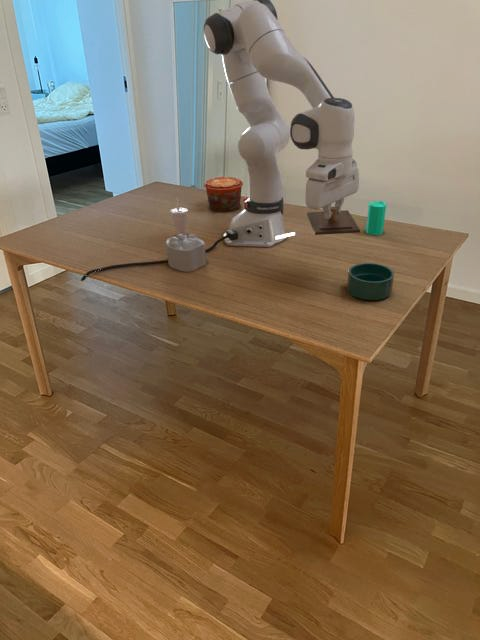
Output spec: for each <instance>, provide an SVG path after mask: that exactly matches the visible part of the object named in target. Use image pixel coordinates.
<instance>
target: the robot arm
mask: <svg viewBox="0 0 480 640" xmlns="http://www.w3.org/2000/svg"><path fill="white" fill-rule="evenodd" d="M203 36H204V41H205V43H206V45H207V47H208V48H207V49H209V51H210V52H211V53H212V54H213V55H215V56H221V57H222V58H221V59H222V64H223V68H224V73H225V77H226V81H227V84H228V86H229V89H230V92H231V95H232V98H233V102H234V104H235V107H236V109H237V111H238V112H239V113H240V114H242V116H243V117H244V118H245V119H246V122H247V123H248V125H249V126H250V127H248V128H247V129H246V130H245V131H244V132H243V133H242V134H241V135H240V137H239V138H238V142H237V149H238V153H239V155H240V157H241V158H242V159H243V160H244V162H245V165H246V169H247V172H248V179H249V197H248V196H244V197H243V198H242V202H243V204H244V209H243V210H241V211H240V212H239V213H238V214H236V215H235V216H233V217H232V219H231V221H230V224H229V228H228V229H227V230H226V231H225V232H224V233H223V236H222V237H220V238H219V239H217V240H216V241H215V242H214V243H213V245H211V246H210V247H209V248H205V254H207V253H208V252H210V251H212V250H213V249H215V248H216V247H217V246H218V245H219V243H221V242H224V243H225V244H226V245H227V246H229V247H230V246H231V247H256V248H257V247H259V248H262V247H263V248H270V247H273V246H274V245H276V244H278V243H282V242H283V241H284V240H286V238H287V237H288V238H289V237H292V236H296V232H295V231H293V232H289V233H287V232H286V229H285V223H284V216H283V215H284V211H285V210H284V209H285V206H284V205H285V203H284V202H285V201H284V197H283V174H282V172H281V171H280V169H279V165H278V161H277V156H278V154H279V153H280V152H282V151H283V150H284V149H286V147H287V146H288V144H289V143H290V141H291V142H292V144H293V145H294V146H295V147H296V148H298V149H299V150H306V151H307V150H313V149H316V150H317V151H318V154H317V159H315V161H314V162H313V163H312V165H310V166H309V167H308V168H307V169H306V171H305V177H306V178H307V181H306V184H305V205H306V207H307V208H308V209H310V210H316V211H317V210H320V209H322V210H323V212H324V217H325V218H326V219H330V218H332V217H333V212H332V211H331V210H330V207H332V204H333V203H334V205H333V207H336V208H337V215H338V214H340V213H341V211H342V207H343V204H344V202H345V198H347V197H349V196H352V195H354V194H356V193H358V191H359V187H360V174H359V173H360V172H359V168H358V163H357V161H356V160H355V159H354V158H353V155H354V151H353V141H354V138H355V110H354V106H353V103H351V101H350V100H347V99H346V98H341V97H334V95H333V94H332V92H331V91H330V89H329V88H328V86H327V84H326V83H325V82H324V80H323V79H322V77H321V76H320V75H319V73H318V72H317V71H316V69H315V68H314V66H313V65H312V64H311V62H310V61H308V59H307V58H306V57H305V56H303V55H302V54H301V53H300V52H299V50H297V49H296V47H295V46H294V45H293V43H292V42H291V40H290V39H289V37H288V36H287V34H286V32H285V30H284V29H283V26H282V25H281V23H280V21H279V19H278V14H277V9H276V7H275V5H274V4H273V2H272V1H271V0H248V1H243V2H239V3H236V4H234V5H233V6H231V7H228V8H226V9H224V10H221V11H220V12H215V13H213V14H211V15H209V16H208V17H207V18H206V19H205V20H204V24H203ZM266 80H269V81H272V82H273V81H274V82H279V83H283V84H286V85H289V86H292V87H294V88H296V89H298V90H299V91H300V92H301V93H302V95H303V96H304V97H305V98H306V100H307V102H308V103H309V105H310V106H311V107H312V108H310V109H308V110H305V111H302V112H299V113H297V114H295V115H294V116H293V118H292V119H291V121H290V125H289V123H288V122H287V121H285V120H284V119H283V117H282V116H281V114H280V112H279V110H278V109H277V107H276V104H275V103H274V101H273V99H272V96H271V95H270V91H269V89H268V85H267V83H266ZM159 264H168V259H162V260H154V261H153V260H152V261H142V262H141V261H140V262H129V263H121V264H113V265H112V264H111V265H108V266H103V267H100V268H94V269H91V270H88V271H87V272H85V274H84V275H82V277H81V279H80V281H81V282H84V281H85V280H86V279H87V277H88V276H90V275H91V274H93V272H94V273H99V272H105V271H107V270H112V269H119V268H127V267H137V266H150V265H159ZM100 269H101V270H100ZM98 270H99V271H98ZM95 271H96V272H95ZM85 275H87V276H85Z"/></svg>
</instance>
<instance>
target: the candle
mask: <svg viewBox="0 0 480 640" xmlns="http://www.w3.org/2000/svg"><path fill="white" fill-rule="evenodd" d="M386 209H387V202H384V201H380V200H376V201H373V202H369V203H368V210H367V218H366V229H365V233H366V234H367V235H370V236H381V235H383V234H384V227H385V218H386Z"/></svg>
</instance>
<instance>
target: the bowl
mask: <svg viewBox="0 0 480 640" xmlns="http://www.w3.org/2000/svg"><path fill="white" fill-rule="evenodd" d="M394 277H395V273H394V271H393V269H392V268H390V267H388V266H387V265H384V264H379V263H373V262H362V263H357V264H355V265H352V266H350V268H349V269H348V273H347V282H346V283H347V285H346V290H347V292H348V294H350V295H351V296H354V297H355V298H358V299H361V300H366V301H380V300H383V299H386V298H388V297H390V296H391V294H392V292H393V286H394V285H393V284H394Z"/></svg>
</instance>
